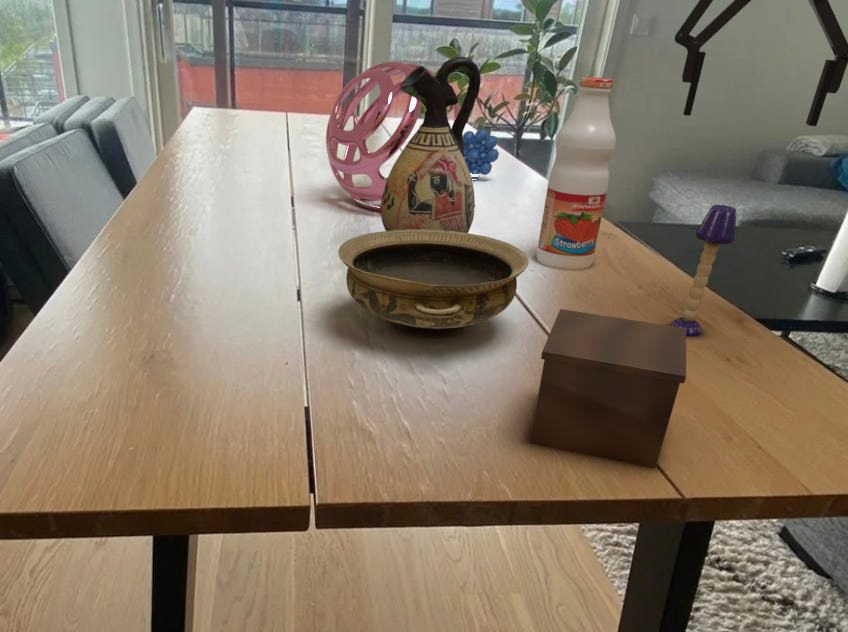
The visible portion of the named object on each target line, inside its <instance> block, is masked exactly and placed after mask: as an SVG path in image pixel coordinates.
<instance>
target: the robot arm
mask: <svg viewBox="0 0 848 632" xmlns="http://www.w3.org/2000/svg"><path fill="white" fill-rule="evenodd" d="M713 1H714V0H698V2H697V3H696V5H695V6H694V8H693V9H692V10H691V12H690V13H689V14H688V16H687V17H686V19H685V20H684V21H683V23H682V25H681V26H680V27H679V29H678V30H677V32H675V33H676V34H675V35H674V42H675V43H676V44H678V45H680V46H681V47H683V48H685V49H686V51H687V53H686V57H685V62H684V67H683V71H682V75H681V80H682V83H687V84H688V83H690V85H689V88H688V93H687V96H686V101H685V105H684V108H683V116H687V117H688V116H690V117H691V114H692V111H693V107H694V104H695V99H696V96H697V95H696V94H697V91H698V86H699V83H700V78H701V75H702V71H703V66H704V61H705V58H706V54H707V53H706V51H700V50H701V48H702V47H703V46H704V45H705V44H706V43H707V42H708V41H710V39H712V37H714V36H715V35H716V34H717V33H718V32H719V31H720V30H721V29H722V28H723V27H725V26H726V25H727V23H728V22H730V21H731V20H732V19H733V18H734V17H735V16H737V14H738V13H739V12H741V11H742V10H743V9H744V8H745V7H746V6H747V5H748V4H750V2H751V1H752V0H733V1H732V2H731V3H730V4H729V5H728V6H727V7H725V8H724V9H723V10H722V11H721V12H720V13H719V14H718V15H717V16H715V18H713V20H712V21H710V22H709V23H708V24H707V25H706V26H705V27H704V28H703V29H702V30H701V31H700V32H699V33H697V35H696V36H693V35H691V32H692V31H693V29H694V28H695V27H696V25H697V24H698V23H699V21H700V20H701V18H702V17H703V16H704V14H705V13H706V11H707V10H708V8H709V7H710V5H711V4H712V3H713ZM807 1H808V3H809V5H810V6H811V8H812V10H813V12H814V15H815V18H816V19H817V21H818V23H819V25H820V28H821V29H822V32H823V35H824V36H825V38H826V40H827V42H828V44H829V47H830V49H831V51H832V54H833V55H834V59H825V62H824V65H823V68H822V70H821V74H820V77H819V81H818V84H817V87H816V90H815V93H814V96H813V100H812V101H811V106H810V108H809V112H808V115H807V118H806V122H805V124H806V125H807V126H809V127H817V125H818V122H819V120H820V116H821V113H822V110H823V108H824V104H825V101H826V98H827V95H828V94H837V93H838V91H839V90H840V87H841V85H842V82H843V78H844V75H845V73H846V69H847V66H848V41H847V38H846V36H845V34H844V31H843V29H842V27H841V25H840V23H839V21H838V19H837V16H836V15H835V13H834V10H833V8H832V6H831V4H830V2H829V0H807Z"/></svg>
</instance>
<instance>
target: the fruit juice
mask: <svg viewBox="0 0 848 632" xmlns="http://www.w3.org/2000/svg"><path fill="white" fill-rule="evenodd" d="M613 87H614V79H611V78H605V77H595V76H594V77H593V76H592V77H591V76H583V77H581V78H580V80H579V88H578V90H579V91H580V92H579V96H578V97H577V98H578V99H577V100H576V102H575V104H574V107H573V109H572V111H571V113H570V115H569V116H568V118H567V120H566V121H565V122H564V124H563V125H562V126H561V127H560V129H559V130H558V132H557V136H556V138H555V139H556V140H555V153H556V157H555V162H554V164H553V165H552V167H551V170H550V173H549V178H548V182H547V189H546V195H545V201H544V207H543V212H542V219H541V225H540V231H539V239H538V243H537V250H536V261H538V262H539V263H540V264H541V265H544V266H546V267H549V268H555V269H559V270H570V271H571V270H575V271H576V270H584V269H588V268H589V267H591V265H592V263H593V260H594V256H595V251H596V248H597V247H596V246H597V241H598V236H599V232H600V226H601V221H602V216H603V212H604V211H603V210H604V207H605V202H606V197H607V193H608V188H609V180H610V171H609V170H610V169H609V163H610V160H611V158H612V156H613V153H614V151H615V149H616V143H617V136H616V133H615V129H614V127H613V124H612V119H611V118H612V117H611V111H610V99H609V97H610V93H611V92H612V89H613Z"/></svg>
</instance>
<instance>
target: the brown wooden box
mask: <svg viewBox="0 0 848 632" xmlns="http://www.w3.org/2000/svg"><path fill="white" fill-rule="evenodd" d="M540 359H541V360H543V366H542V371H541V376H540V382H539V388H538V394H537V399H536V403H535V409H534V415H533V421H532V425H531V426H532V427H531V432H530V437H529V444H531V445H536V446H537V445H538V446H542V447H547V448H552V449H557V450H561V451H567V452H571V453H576V454H583V455H588V456H592V457H597V458H600V459H601V458H602V459H607V460H612V461H617V462H621V463H627V464H631V465H636V466H641V467H647V468H650V469H656V468H657V466H658V465H657V464H658V462H659V458H660V455H661V451H662V447H663V444H664V441H665V437H666V435H667V431H668V427H669V423H670V419H671V416H672V413H673V409H674V406H675V402H676V398H677V395H678V392H679V388H680V386H681V385H680V384H685V382H686V378H687V336H686V328H680V327H674V326H670V325H666V324H659V323H653V322H647V321H640V320H634V319H627V318H623V317H622V318H621V317H615V316H608V315H603V314H602V315H601V314H596V313H589V312H582V311H576V310H571V309H570V310H569V309H563V308H560V309H559V311H558V313H557V316H556V318H555V321H554V323H553V325H552V327H551V330H550V332H549V335H548V337H547V339H546V341H545V344H544V346H543V348H542V351H541V357H540Z"/></svg>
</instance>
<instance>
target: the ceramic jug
mask: <svg viewBox="0 0 848 632" xmlns="http://www.w3.org/2000/svg"><path fill="white" fill-rule="evenodd" d="M424 67H425V66H423V65H420V66H419V67H418V68H416V69H415V70H413V71H412V72H411V73H410V74H409V75H408V76H407V78H406V77H405V78H404V80H402V81H403V82H402V81H401V82H402V84H401V87H400V90H401V91H402V92H404V93H403V94H406V95H408V96H409V95H411V96H412V97H414V98H416V99H417V100H419V101H421V102H422V105H423V107H425V111H424V112H425V113H424V117H423V121H422V123H421V124H420V125H419V128H417V130H416V131H415V133H414V134H413V135H412V137H411V138H410V140H409V141H408V142H407V143H406V145H405V147H404V148H403V150H401V152H400V153H399V155H398V157H397V158H396V160H395V162H394V163H393V166H392V167H391V169H390V171H389V174H388V177H387V178H388V179H387V182H386V185H385V188H384V192H383V196H382V200H380V204H381V207H380V211H379V212H380V218H381V223H382V225H383V228H384V230H385V231H386V232H387V231H392V230H406V229H429V230H443V231H456V232H463V233H469V231H470V230H471V227H472V225H473V222H474V218H475V217H474V216H475V208H476V200H475V198H476V197H475V189H474V188H475V187H474V181H472V178H471V175H470V172H469V170H468V167H467V164H466V162H465V159H464V152H463V135H464V130H465V127H466V125H467V123H468V122H469V119H470V116H471V113H472V110H473V108H474V106H475V103H476V100H477V98H478V96H479V94H480V88H481V78H482V77H481V72H480V69H479V66H478V65H477V63H475V62H474V60H472V59H471V58H469V57H467V56H456V57H452V58H450V59H448V60H445V61H444V62H443V63H442V65H441V66H440V67H439V69H438V71H437V72H436V74H435V75H436V76H435V77H433V76H432V75H431V74H430V73H429V72H428V71H427V70H426V69H425V68H426V67H425V68H424ZM454 73H459V74H463V75H465V76H466V77H467V78H468V82H469V83H468V87H467V90H466V94H465V96H464V99H463V101H462V104H461V106H460V111H459V113H458V115H457V118H456V119H455V121H454V120H453V123H452V125H450V122H449V118H448V114H447V108H448V107H450V106H453V105H455V104H457V103H458V102H459V98H458V96H457V94H456V92H455V90H454V87H453V86H452V84H450V83H449V81H448V77H449V76H450V75H451V74H454Z"/></svg>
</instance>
